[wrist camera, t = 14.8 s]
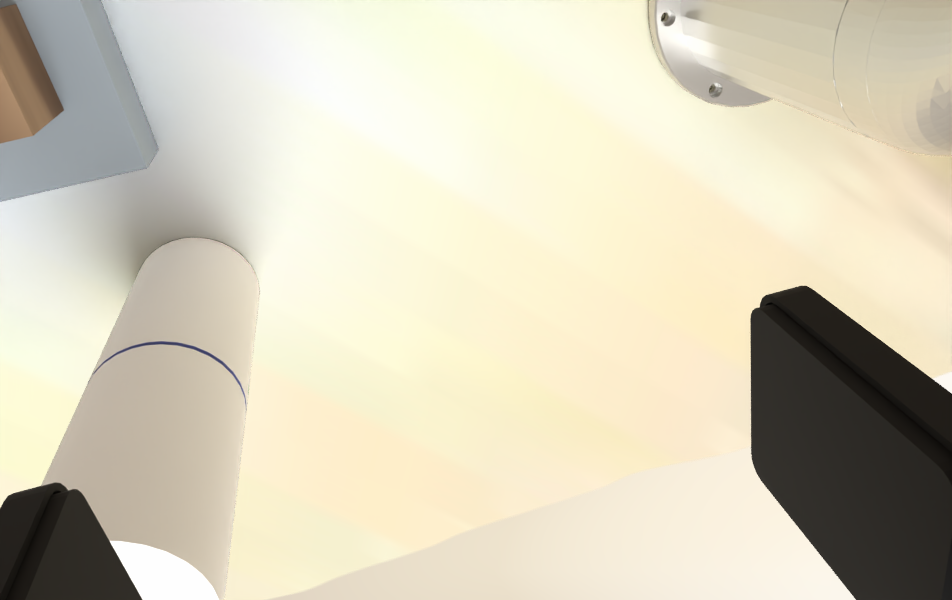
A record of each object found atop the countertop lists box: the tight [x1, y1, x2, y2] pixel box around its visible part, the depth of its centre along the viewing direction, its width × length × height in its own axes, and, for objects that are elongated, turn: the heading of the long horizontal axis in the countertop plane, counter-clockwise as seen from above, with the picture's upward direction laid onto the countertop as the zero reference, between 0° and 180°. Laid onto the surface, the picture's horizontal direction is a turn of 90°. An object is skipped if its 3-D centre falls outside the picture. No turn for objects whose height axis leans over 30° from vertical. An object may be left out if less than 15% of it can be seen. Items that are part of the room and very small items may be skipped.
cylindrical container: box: [41, 237, 260, 600], centre depth 36 cm, size 7×7×25 cm
